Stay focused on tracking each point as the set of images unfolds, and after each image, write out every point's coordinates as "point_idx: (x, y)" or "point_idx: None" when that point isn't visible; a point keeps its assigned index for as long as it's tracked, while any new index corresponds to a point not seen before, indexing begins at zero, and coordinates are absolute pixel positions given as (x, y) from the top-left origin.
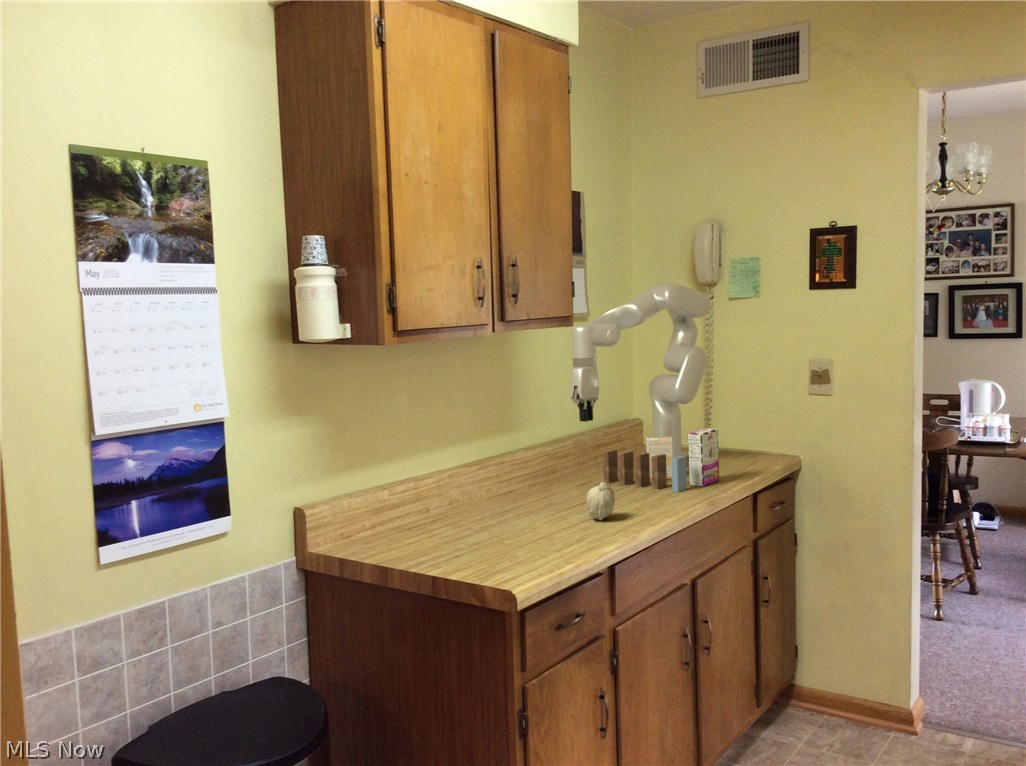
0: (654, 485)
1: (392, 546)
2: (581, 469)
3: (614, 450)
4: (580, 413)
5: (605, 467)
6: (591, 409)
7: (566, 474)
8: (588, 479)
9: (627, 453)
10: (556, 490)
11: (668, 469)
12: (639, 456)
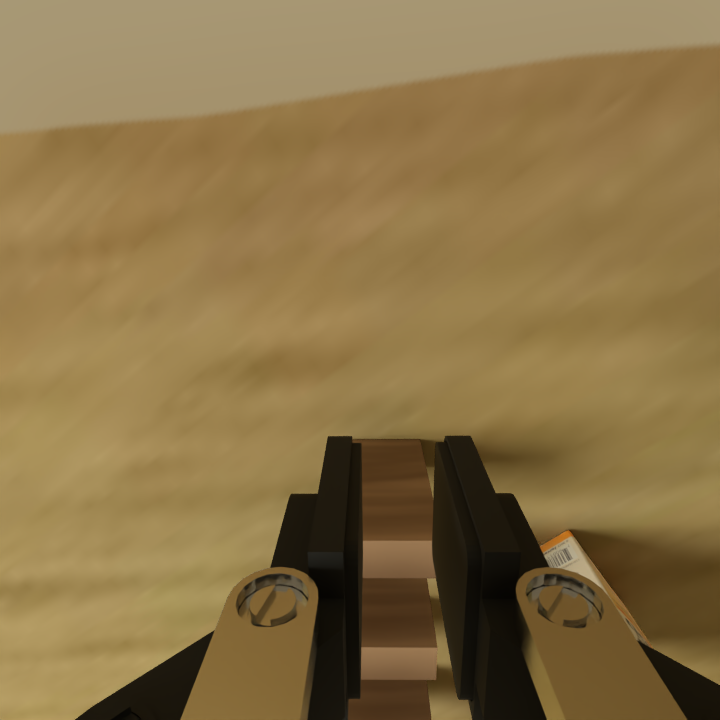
0: None
1: None
2: (636, 66)
3: (410, 575)
4: (277, 549)
5: None
6: (466, 695)
7: (438, 97)
8: (377, 318)
9: (372, 676)
10: (63, 355)
11: None
12: None
